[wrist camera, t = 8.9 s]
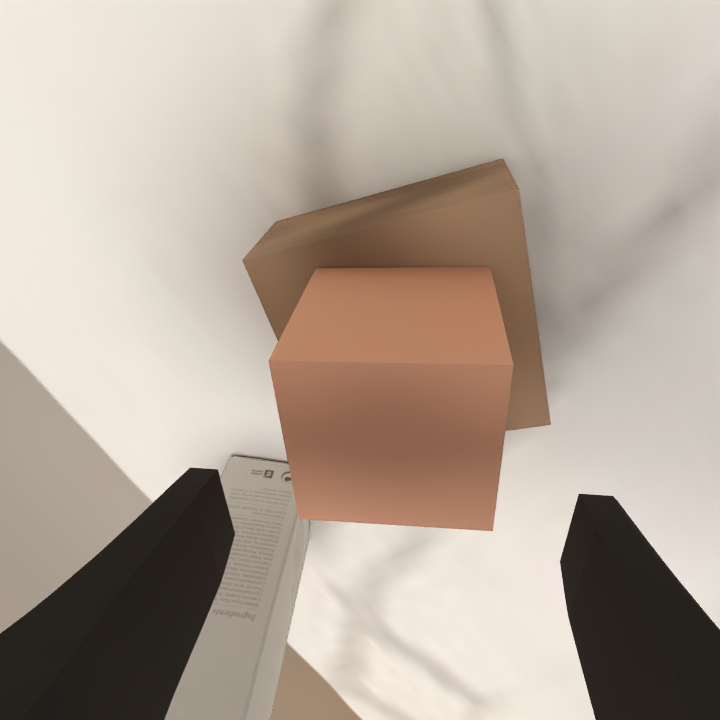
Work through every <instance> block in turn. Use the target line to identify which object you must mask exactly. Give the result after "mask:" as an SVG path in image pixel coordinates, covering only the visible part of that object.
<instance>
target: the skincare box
mask: <svg viewBox="0 0 720 720" xmlns="http://www.w3.org/2000/svg"><path fill="white" fill-rule="evenodd" d="M220 480H221V483H222V487H223V491H224V494H225V498H226V502H227V506H228V509H229V513H230V517H231V520H232V524H233V528H234V531H235V536H234V540H233V544H232V547H231V551H230V555H229V558H228V562H227V565H226V568H225V571H224V575H223V578H222V581H221V584H220V586H219V589H218V591H217V594H216V596H215V599H214V601H213V603H212V606H211V608H210V611H209V613H208V615H207V618H206V620H205V623H204V625H203V627H202V630H201V632H200V634H199V637H198V639H197V641H196V644H195V646H194V649H193V651H192V653H191V656H190V658H189V660H188V663H187V665H186V667H185V670H184V672H183V675H182V677H181V679H180V682H179V684H178V686H177V689H176V691H175V693H174V696H173V699H172V701H171V704H170V707H169V709H168V712H167V714H166V717H165V720H270V715H271V711H272V707H273V702H274V697H275V693H276V688H277V684H278V679H279V674H280V669H281V665H282V660H283V656H284V652H285V647H286V642H287V638H288V633H289V629H290V624H291V619H292V615H293V610H294V606H295V601H296V597H297V593H298V588H299V583H300V579H301V574H302V570H303V565H304V561H305V556H306V551H307V547H308V542H309V519H299V517H298V512H297V507H296V501H295V496H294V491H293V486H292V480H291V475H290V470H289V465H288V463H283V462H276V461H269V460H262V459H256V458H247V457H238V456H233V457H232V458H231V459H230V460H229V461H228V462H227V464H226V466H225V469H224V471H223V473H222V475H221V477H220Z"/></svg>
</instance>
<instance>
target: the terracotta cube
mask: <svg viewBox="0 0 720 720" xmlns="http://www.w3.org/2000/svg"><path fill="white" fill-rule="evenodd" d="M269 365H270V370H271V376H272V381H273V386H274V391H275V397H276V402H277V407H278V412H279V417H280V423H281V428H282V433H283V438H284V444H285V449H286V454H287V459H288V465H289V470H290V475H291V480H292V486H293V491H294V496H295V501H296V507H297V512H298V517H299V519H309V520H324V521H340V522H356V523H372V524H388V525H404V526H420V527H436V528H452V529H468V530H483V531H493V524H494V516H495V508H496V500H497V492H498V484H499V476H500V468H501V460H502V452H503V444H504V436H505V429H506V421H507V413H508V405H509V397H510V389H511V381H512V373H513V361H512V356H511V352H510V348H509V344H508V340H507V335H506V331H505V327H504V323H503V318H502V314H501V310H500V306H499V301H498V297H497V293H496V289H495V285H494V280H493V276H492V272H491V268H490V267H400V268H316V269H315V271H314V273H313V275H312V277H311V279H310V281H309V283H308V285H307V287H306V289H305V290H304V292H303V294H302V296H301V298H300V300H299V302H298V304H297V306H296V308H295V310H294V312H293V314H292V316H291V318H290V320H289V322H288V324H287V326H286V328H285V330H284V332H283V333H282V335H281V337H280V339H279V341H278V343H277V345H276V347H275V349H274V351H273V353H272V355H271V357H270V359H269Z"/></svg>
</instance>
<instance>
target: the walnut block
mask: <svg viewBox="0 0 720 720" xmlns="http://www.w3.org/2000/svg"><path fill="white" fill-rule="evenodd" d="M243 263H244V265H245V267H246V270H247V272H248V274H249V276H250V279H251V281H252V283H253V285H254V288H255V290H256V292H257V294H258V297H259V299H260V301H261V303H262V306H263V308H264V310H265V313H266V315H267V317H268V319H269V322H270V324H271V326H272V328H273V331H274V333H275V335H276V337H277V340H278V341H279V339H280V337H281V335H282V333H283V332H284V330H285V328H286V326H287V324H288V322H289V320H290V318H291V316H292V314H293V312H294V310H295V308H296V306H297V304H298V302H299V300H300V298H301V296H302V294H303V292H304V290H305V289H306V287H307V285H308V283H309V281H310V279H311V277H312V275H313V273H314V271H315V269H316V268H400V267H490V268H491V272H492V276H493V280H494V285H495V289H496V293H497V297H498V301H499V306H500V310H501V314H502V318H503V323H504V327H505V331H506V335H507V340H508V344H509V348H510V352H511V356H512V361H513V373H512V381H511V389H510V397H509V405H508V413H507V421H506V429H505V431H508V430H516V429H523V428H530V427H537V426H545V425H551V423H550V415H549V408H548V401H547V393H546V386H545V379H544V371H543V364H542V357H541V349H540V342H539V335H538V328H537V320H536V313H535V306H534V298H533V291H532V284H531V276H530V269H529V262H528V254H527V247H526V240H525V232H524V225H523V218H522V210H521V203H520V196H519V188H518V186H517V184H516V183H515V181H514V179H513V177H512V175H511V173H510V171H509V169H508V167H507V166H506V164H505V162H504V160H503V159H500V160H496V161H493V162H489V163H485V164H482V165H478V166H475V167H471V168H467V169H464V170H460V171H457V172H453V173H450V174H446V175H442V176H439V177H435V178H432V179H428V180H424V181H421V182H417V183H414V184H410V185H406V186H403V187H399V188H396V189H392V190H389V191H385V192H381V193H378V194H374V195H371V196H367V197H363V198H360V199H356V200H353V201H349V202H345V203H342V204H338V205H335V206H331V207H328V208H324V209H320V210H317V211H313V212H310V213H306V214H302V215H299V216H295V217H292V218H288V219H284V220H281V221H277V222H275V223H274V225H273V226H272V227H271V228H270V229H269V230H268V231H267V233H266V234H265V235H264V236H263V237H262V238H261V239H260V241H259V242H258V243H257V244H256V245H255V246H254V248H253V249H252V250H251V251H250V252H249V253H248V254H247V256H246V257H245V258H244V259H243Z"/></svg>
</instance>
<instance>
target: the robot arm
mask: <svg viewBox="0 0 720 720" xmlns="http://www.w3.org/2000/svg"><path fill="white" fill-rule="evenodd" d="M234 536H235V531H234V528H233V524H232V520H231V517H230V513H229V509H228V506H227V502H226V498H225V494H224V491H223V487H222V483H221V480H220V476H219V472H218V470H216V469H202V468H190V469H188V470H187V471H186V472H185V473H184V474H183V475H182V476H181V477H180V478H179V479H178V480H177V481H175V482H174V483H173V484H172V485H171V486H170V487H169V488H168V489H167V490H166V491H165V492H164V493H163V494H162V495H161V496H160V497H159V498H158V499H157V500H155V501H154V502H153V503H152V504H151V505H150V506H149V507H148V508H147V509H146V510H145V511H144V512H143V513H142V514H141V515H140V516H139V517H138V518H137V519H136V520H134V521H133V522H132V523H131V524H130V525H129V526H128V527H127V528H126V529H125V530H124V531H123V532H121V533H120V534H119V535H118V536H117V537H116V538H115V539H114V540H113V541H112V542H111V543H109V545H107V546H106V547H105V548H104V549H103V550H102V551H101V552H100V553H99V554H97V555H96V556H95V557H94V558H93V559H92V560H91V561H89V562H88V563H87V564H86V565H85V566H84V567H82V568H81V569H80V570H79V571H78V572H77V573H75V574H74V575H73V576H72V577H71V578H70V579H68V580H67V581H66V582H65V583H64V584H63V585H62V586H60V587H59V588H58V589H57V590H55V591H54V592H53V593H52V594H51V595H50V596H48V597H47V598H46V599H45V600H43V601H42V602H41V603H40V604H38V605H37V606H36V607H35V608H34V609H32V610H31V611H30V612H28V613H27V614H26V615H25V616H23V617H22V618H21V619H19V620H18V621H17V622H15V623H14V624H13V625H11V626H10V627H9V628H7V629H6V630H5V631H3V632H2V633H1V634H0V720H165V717H166V714H167V712H168V709H169V707H170V704H171V701H172V699H173V696H174V693H175V691H176V689H177V686H178V684H179V682H180V679H181V677H182V675H183V672H184V670H185V667H186V665H187V663H188V660H189V658H190V656H191V653H192V651H193V649H194V646H195V644H196V641H197V639H198V637H199V634H200V632H201V630H202V627H203V625H204V623H205V620H206V618H207V615H208V613H209V611H210V608H211V606H212V603H213V601H214V599H215V596H216V594H217V591H218V589H219V586H220V584H221V581H222V578H223V575H224V571H225V568H226V565H227V562H228V558H229V555H230V551H231V547H232V544H233V540H234ZM560 564H561V571H562V578H563V585H564V592H565V599H566V605H567V611H568V617H569V621H570V625H571V629H572V632H573V636H574V640H575V644H576V648H577V651H578V655H579V659H580V663H581V667H582V670H583V674H584V678H585V681H586V685H587V689H588V693H589V696H590V700H591V704H592V707H593V711H594V715H595V719H596V720H720V629H719V628H718V627H717V626H716V625H715V624H714V622H713V621H712V620H711V619H710V618H709V616H708V615H707V614H706V613H705V612H704V610H703V609H702V608H701V607H700V606H699V604H698V603H697V602H696V601H695V600H694V598H693V597H692V596H691V595H690V594H689V592H688V591H687V590H686V589H685V588H684V586H683V585H682V584H681V583H680V581H679V580H678V579H677V578H676V576H675V575H674V574H673V573H672V571H671V570H670V569H669V568H668V566H667V565H666V564H665V563H664V561H663V560H662V559H661V557H660V556H659V555H658V554H657V552H656V551H655V550H654V548H653V547H652V546H651V545H650V543H649V542H648V541H647V539H646V538H645V537H644V535H643V534H642V533H641V532H640V530H639V529H638V528H637V526H636V525H635V524H634V522H633V521H632V520H631V518H630V517H629V516H628V514H627V513H626V512H625V510H624V509H623V508H622V506H621V505H620V504H619V502H618V501H617V500H616V499H615V498H614V497H613V496H603V495H588V494H579V496H578V499H577V503H576V506H575V510H574V513H573V517H572V521H571V524H570V528H569V531H568V535H567V539H566V542H565V546H564V549H563V553H562V556H561V560H560Z"/></svg>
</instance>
